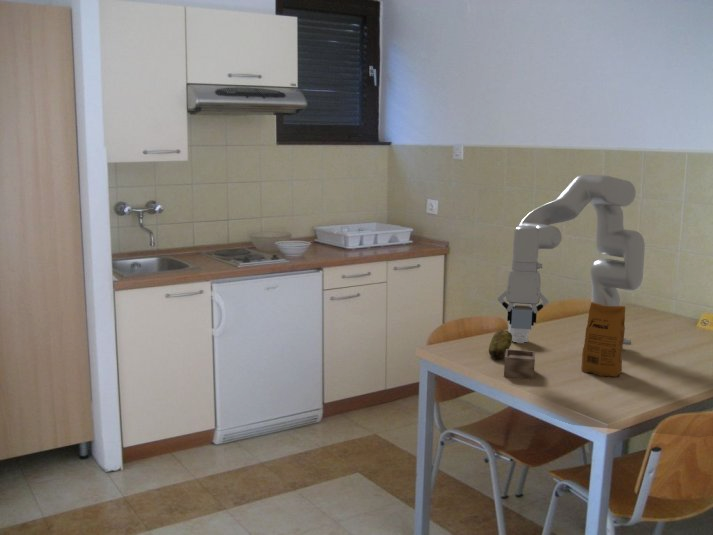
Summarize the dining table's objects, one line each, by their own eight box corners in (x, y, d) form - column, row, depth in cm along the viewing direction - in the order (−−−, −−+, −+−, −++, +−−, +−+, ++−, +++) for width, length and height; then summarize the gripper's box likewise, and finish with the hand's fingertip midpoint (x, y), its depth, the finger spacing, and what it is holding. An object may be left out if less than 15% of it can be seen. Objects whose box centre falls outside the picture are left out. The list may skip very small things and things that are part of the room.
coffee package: (586, 364, 244) (591, 298, 240) (625, 371, 237) (630, 303, 233) (576, 371, 236) (581, 303, 232) (616, 379, 229) (621, 309, 225)
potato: (478, 357, 250) (479, 334, 248) (497, 349, 259) (499, 326, 258) (500, 362, 244) (501, 338, 243) (519, 353, 254) (520, 331, 252)
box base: (533, 370, 236) (534, 351, 235) (533, 379, 228) (534, 359, 227) (504, 367, 238) (505, 349, 237) (503, 376, 230) (504, 357, 229)
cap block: (531, 324, 232) (532, 305, 231) (531, 329, 227) (532, 309, 226) (511, 323, 234) (512, 303, 233) (511, 328, 228) (512, 308, 227)
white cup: (528, 338, 273) (529, 312, 271) (530, 344, 265) (532, 317, 264) (506, 337, 274) (507, 311, 272) (508, 343, 266) (509, 316, 264)
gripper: (553, 266, 229) (549, 323, 232) (496, 263, 233) (493, 319, 236) (554, 270, 221) (550, 329, 225) (495, 267, 225) (492, 324, 228)
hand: (521, 323), depth 230 cm, fingers closed on cap block, 6 cm apart
